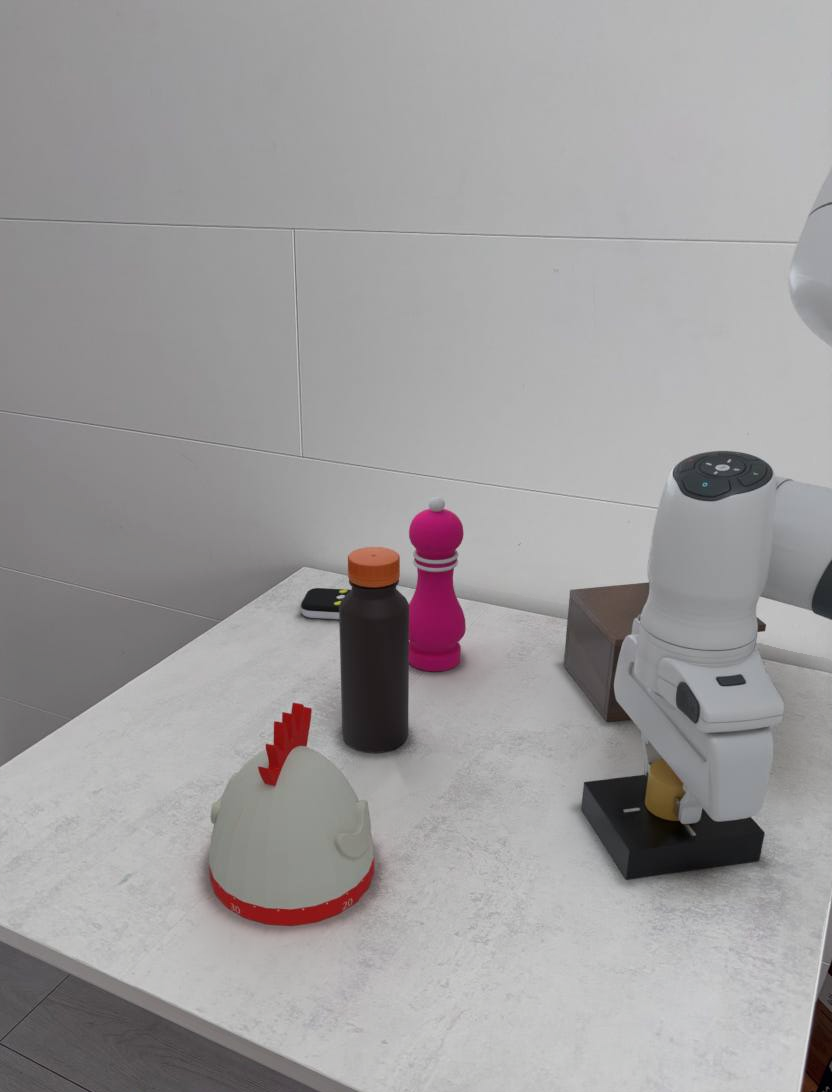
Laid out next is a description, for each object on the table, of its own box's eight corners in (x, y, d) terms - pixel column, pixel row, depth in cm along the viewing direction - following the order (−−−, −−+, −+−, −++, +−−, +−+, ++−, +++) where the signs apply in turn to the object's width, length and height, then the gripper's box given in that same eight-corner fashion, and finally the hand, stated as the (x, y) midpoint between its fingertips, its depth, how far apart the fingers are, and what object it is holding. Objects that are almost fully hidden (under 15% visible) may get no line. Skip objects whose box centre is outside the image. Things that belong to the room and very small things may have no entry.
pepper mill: (396, 648, 123) (397, 488, 114) (455, 642, 124) (459, 483, 115) (410, 677, 116) (412, 510, 107) (472, 670, 117) (478, 505, 108)
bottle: (406, 718, 108) (408, 542, 99) (409, 753, 102) (411, 569, 93) (342, 719, 108) (338, 543, 99) (342, 754, 102) (337, 570, 93)
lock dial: (636, 794, 90) (640, 758, 89) (681, 787, 91) (687, 752, 89) (659, 824, 87) (664, 787, 85) (707, 817, 87) (713, 780, 86)
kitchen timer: (396, 838, 90) (397, 691, 84) (336, 943, 79) (331, 783, 72) (256, 805, 95) (245, 663, 88) (179, 899, 84) (160, 745, 77)
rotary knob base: (702, 793, 96) (707, 765, 94) (759, 861, 87) (765, 831, 85) (580, 808, 94) (583, 780, 92) (625, 879, 85) (629, 849, 84)
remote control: (308, 598, 136) (308, 584, 135) (404, 603, 134) (404, 589, 133) (298, 618, 130) (298, 604, 130) (398, 624, 128) (398, 610, 128)
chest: (689, 652, 120) (699, 584, 116) (744, 706, 109) (757, 632, 105) (563, 665, 118) (569, 596, 114) (606, 722, 107) (614, 647, 103)
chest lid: (706, 583, 117) (712, 545, 114) (765, 631, 105) (772, 590, 103) (569, 596, 114) (572, 557, 112) (614, 647, 103) (619, 605, 101)
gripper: (604, 606, 91) (590, 738, 97) (717, 727, 73) (690, 879, 79) (671, 600, 92) (653, 731, 98) (798, 718, 74) (766, 869, 80)
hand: (670, 798), depth 88 cm, fingers closed on lock dial, 4 cm apart
